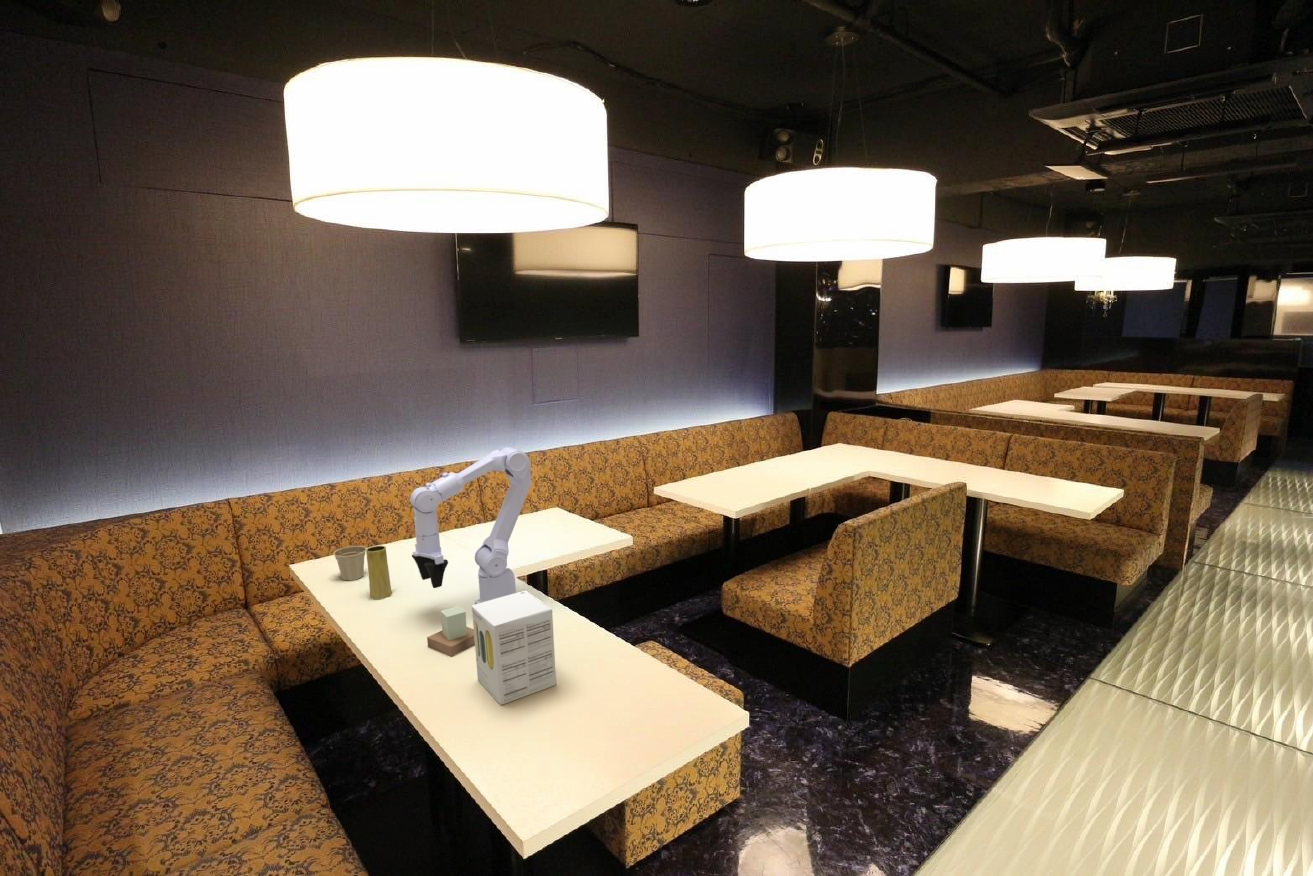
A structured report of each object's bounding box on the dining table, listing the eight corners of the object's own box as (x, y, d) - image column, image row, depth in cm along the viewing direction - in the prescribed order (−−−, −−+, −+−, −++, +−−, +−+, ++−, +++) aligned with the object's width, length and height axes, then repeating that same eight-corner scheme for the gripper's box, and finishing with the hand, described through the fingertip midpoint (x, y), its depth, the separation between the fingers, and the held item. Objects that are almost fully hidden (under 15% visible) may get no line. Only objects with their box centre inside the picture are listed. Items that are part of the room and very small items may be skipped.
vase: (384, 600, 190) (379, 552, 188) (365, 599, 192) (359, 551, 189) (396, 591, 196) (391, 545, 194) (377, 590, 197) (372, 544, 195)
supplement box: (475, 679, 146) (469, 604, 143) (531, 660, 154) (526, 589, 151) (499, 706, 136) (493, 626, 133) (558, 685, 143) (553, 608, 140)
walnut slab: (458, 634, 169) (457, 623, 169) (481, 643, 164) (481, 632, 163) (428, 648, 162) (427, 637, 161) (451, 658, 157) (450, 647, 156)
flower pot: (375, 575, 210) (372, 548, 209) (348, 585, 202) (345, 558, 201) (357, 569, 215) (354, 544, 214) (330, 579, 207) (326, 553, 206)
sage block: (460, 628, 165) (458, 605, 164) (467, 635, 162) (465, 611, 161) (442, 634, 163) (440, 611, 162) (449, 640, 159) (446, 617, 158)
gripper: (402, 530, 177) (407, 579, 179) (422, 543, 166) (427, 595, 168) (428, 524, 181) (432, 572, 183) (449, 537, 170) (454, 587, 172)
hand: (431, 582), depth 176 cm, fingers open, 7 cm apart
